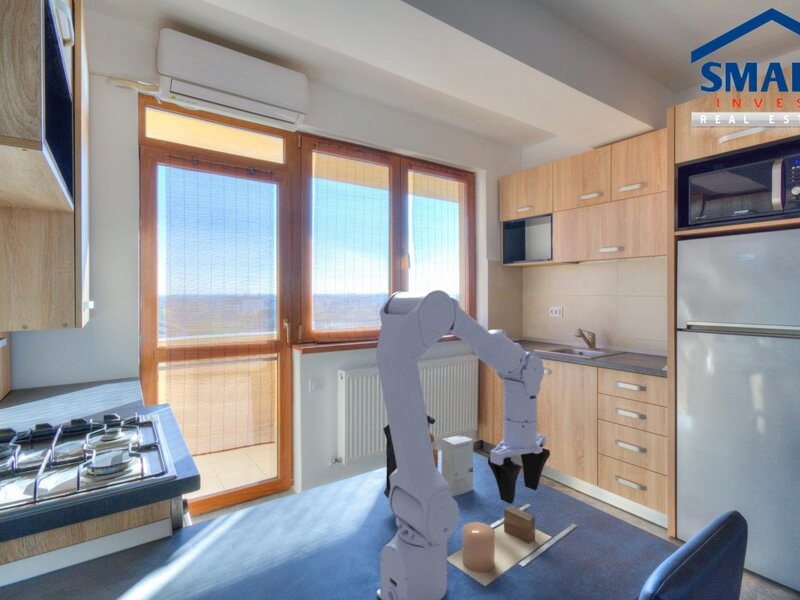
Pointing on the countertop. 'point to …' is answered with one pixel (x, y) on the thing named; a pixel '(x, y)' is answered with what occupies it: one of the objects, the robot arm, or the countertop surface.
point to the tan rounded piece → (478, 547)
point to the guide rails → (543, 545)
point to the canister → (391, 455)
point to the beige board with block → (507, 544)
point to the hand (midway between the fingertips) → (519, 494)
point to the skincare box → (458, 464)
